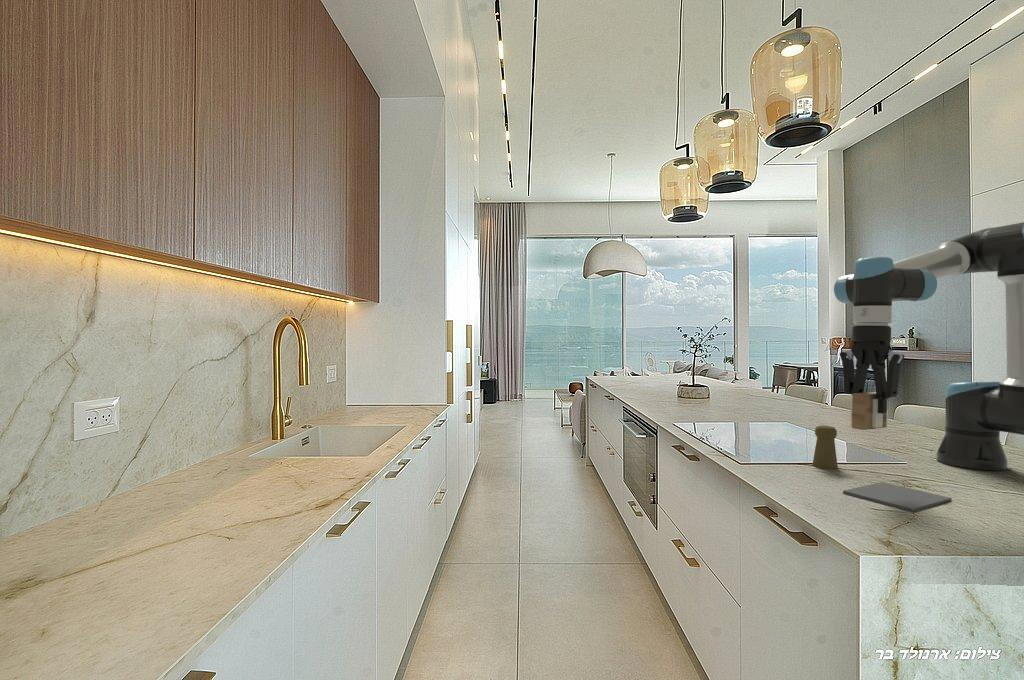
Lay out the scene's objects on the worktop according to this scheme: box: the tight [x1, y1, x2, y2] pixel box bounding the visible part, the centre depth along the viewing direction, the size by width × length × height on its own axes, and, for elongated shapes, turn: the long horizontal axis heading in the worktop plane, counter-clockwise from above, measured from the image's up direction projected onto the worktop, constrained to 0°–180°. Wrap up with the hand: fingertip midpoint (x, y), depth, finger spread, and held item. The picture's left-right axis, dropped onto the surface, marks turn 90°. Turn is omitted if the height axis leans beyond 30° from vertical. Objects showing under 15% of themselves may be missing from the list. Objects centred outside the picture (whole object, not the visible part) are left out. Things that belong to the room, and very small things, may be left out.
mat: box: [842, 481, 952, 512], centre depth 121 cm, size 16×14×1 cm
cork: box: [811, 424, 839, 470], centre depth 148 cm, size 6×6×11 cm
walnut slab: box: [850, 391, 888, 431], centre depth 127 cm, size 9×3×8 cm, turn 117°
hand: (868, 425), depth 127 cm, fingers closed on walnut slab, 3 cm apart
